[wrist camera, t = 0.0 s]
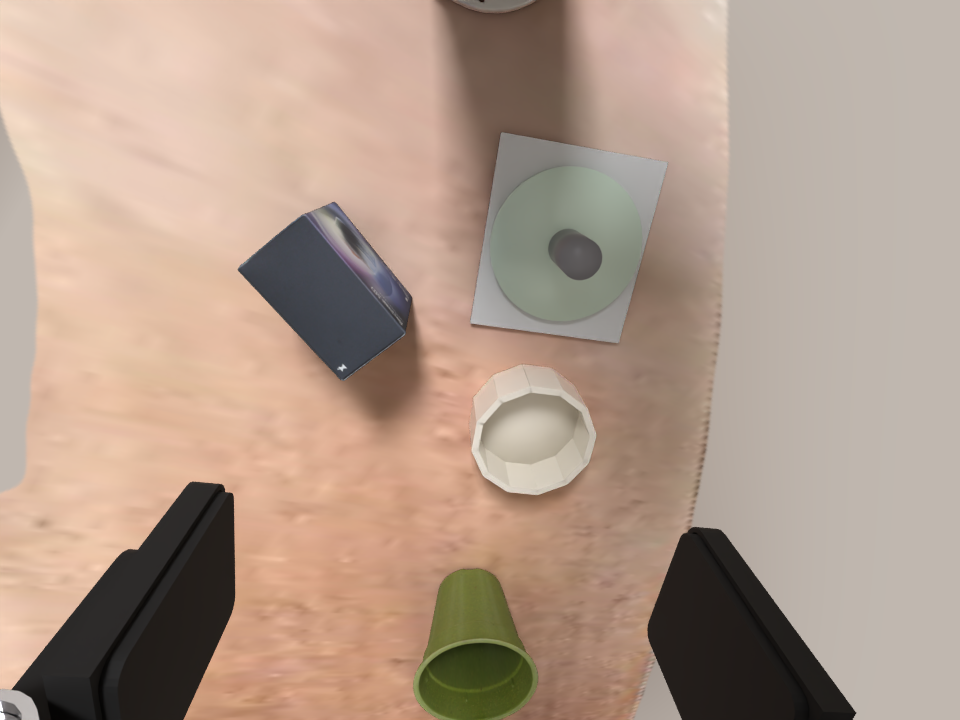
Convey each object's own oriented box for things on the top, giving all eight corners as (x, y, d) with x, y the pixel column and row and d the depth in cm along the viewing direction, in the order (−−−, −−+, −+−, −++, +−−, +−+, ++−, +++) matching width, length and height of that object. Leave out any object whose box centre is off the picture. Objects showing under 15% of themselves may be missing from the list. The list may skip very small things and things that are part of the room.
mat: (500, 132, 42) (501, 132, 41) (665, 162, 43) (668, 162, 43) (470, 321, 47) (470, 323, 47) (616, 341, 49) (618, 343, 48)
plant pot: (404, 617, 60) (396, 714, 50) (438, 539, 56) (437, 627, 46) (498, 638, 63) (510, 735, 52) (537, 565, 59) (558, 654, 48)
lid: (504, 153, 42) (513, 153, 36) (657, 180, 43) (687, 184, 38) (478, 308, 46) (483, 328, 41) (617, 327, 48) (639, 349, 43)
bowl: (480, 358, 49) (484, 380, 44) (592, 372, 50) (607, 395, 45) (462, 458, 53) (464, 488, 48) (567, 469, 54) (578, 498, 49)
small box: (418, 296, 46) (411, 335, 37) (362, 338, 47) (341, 387, 38) (336, 196, 43) (305, 210, 33) (278, 245, 44) (231, 271, 34)
